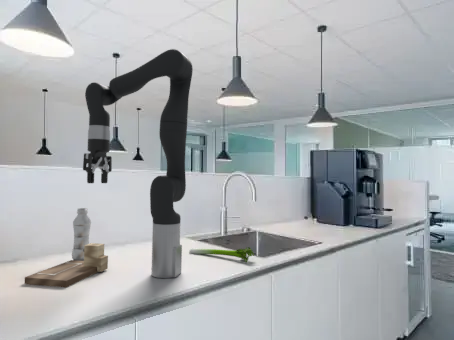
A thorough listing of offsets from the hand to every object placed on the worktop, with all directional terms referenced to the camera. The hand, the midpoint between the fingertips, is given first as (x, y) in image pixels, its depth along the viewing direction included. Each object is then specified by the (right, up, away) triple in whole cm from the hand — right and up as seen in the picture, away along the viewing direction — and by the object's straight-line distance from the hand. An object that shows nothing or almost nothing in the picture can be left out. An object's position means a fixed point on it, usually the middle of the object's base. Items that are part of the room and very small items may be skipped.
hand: (97, 183), depth 116 cm
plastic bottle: (-9, -30, +7) cm, 32 cm away
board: (-5, -30, -12) cm, 32 cm away
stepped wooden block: (+1, -29, -6) cm, 30 cm away
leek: (+44, -32, +16) cm, 57 cm away
